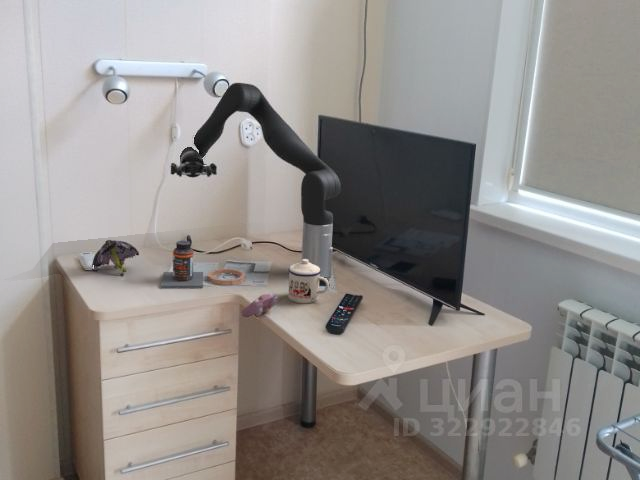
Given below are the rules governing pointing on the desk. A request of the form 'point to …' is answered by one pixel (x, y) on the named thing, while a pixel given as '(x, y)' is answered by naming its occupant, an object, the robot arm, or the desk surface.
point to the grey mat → (172, 283)
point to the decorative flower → (114, 254)
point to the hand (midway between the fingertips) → (194, 173)
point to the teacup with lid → (305, 282)
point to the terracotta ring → (226, 282)
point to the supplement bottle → (183, 261)
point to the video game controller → (260, 305)
